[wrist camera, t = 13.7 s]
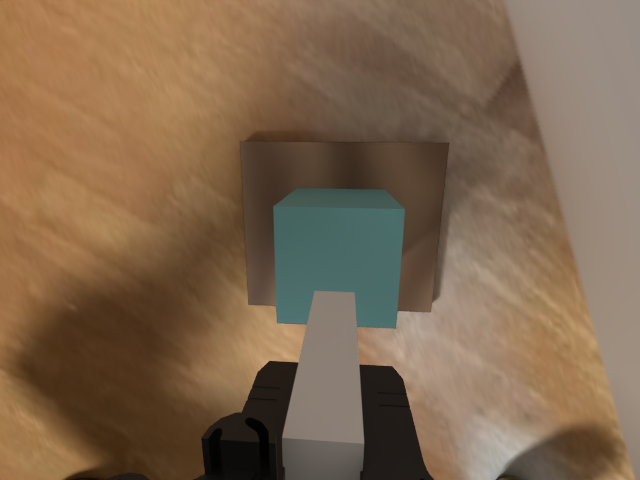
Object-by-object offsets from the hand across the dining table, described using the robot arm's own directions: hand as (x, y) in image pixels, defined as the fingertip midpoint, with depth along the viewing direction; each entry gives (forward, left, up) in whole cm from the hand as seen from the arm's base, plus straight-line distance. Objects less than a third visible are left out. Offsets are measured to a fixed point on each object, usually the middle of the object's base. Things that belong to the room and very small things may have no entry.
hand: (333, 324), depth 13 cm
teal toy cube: (0, 0, -15) cm, 15 cm away
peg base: (0, 0, -16) cm, 16 cm away
